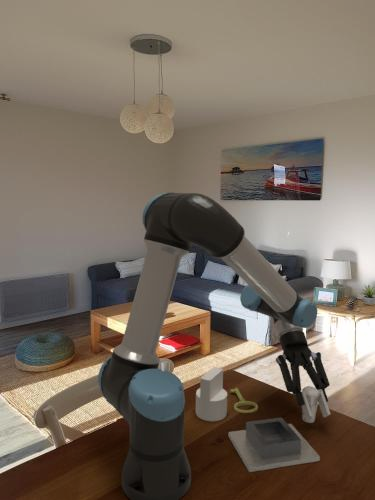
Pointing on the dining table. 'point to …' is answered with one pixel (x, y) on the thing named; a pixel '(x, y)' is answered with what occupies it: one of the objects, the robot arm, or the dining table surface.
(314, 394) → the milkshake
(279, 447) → the holder
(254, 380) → the dining table surface
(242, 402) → the key
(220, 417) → the base with upright slab
